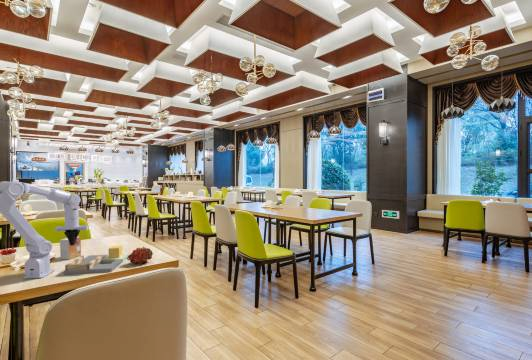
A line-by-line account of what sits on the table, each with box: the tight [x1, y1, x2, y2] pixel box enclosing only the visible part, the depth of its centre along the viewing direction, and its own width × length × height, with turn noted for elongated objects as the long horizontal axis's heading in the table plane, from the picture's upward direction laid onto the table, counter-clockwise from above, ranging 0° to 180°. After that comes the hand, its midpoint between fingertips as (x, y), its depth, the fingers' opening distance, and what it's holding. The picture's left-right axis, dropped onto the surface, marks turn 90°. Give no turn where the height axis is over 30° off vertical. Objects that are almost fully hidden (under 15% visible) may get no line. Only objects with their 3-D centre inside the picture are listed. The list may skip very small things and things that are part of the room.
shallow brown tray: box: [64, 254, 104, 271], centre depth 140 cm, size 15×10×2 cm, turn 7°
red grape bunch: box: [126, 246, 154, 265], centre depth 147 cm, size 8×8×12 cm
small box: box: [59, 236, 82, 260], centre depth 158 cm, size 8×6×10 cm
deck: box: [63, 253, 130, 275], centre depth 145 cm, size 24×20×2 cm
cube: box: [108, 245, 123, 258], centre depth 153 cm, size 5×5×5 cm
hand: (72, 245), depth 145 cm, fingers closed
